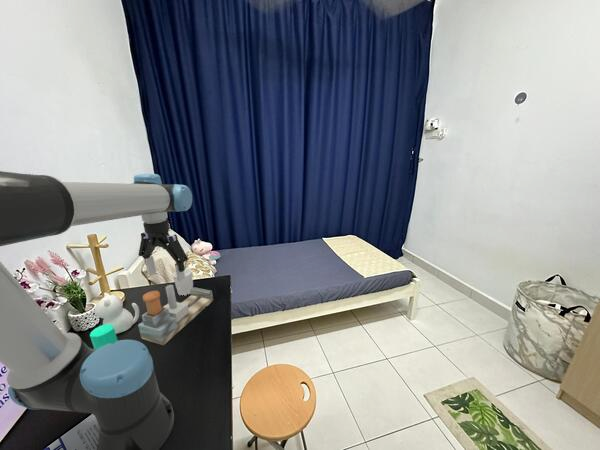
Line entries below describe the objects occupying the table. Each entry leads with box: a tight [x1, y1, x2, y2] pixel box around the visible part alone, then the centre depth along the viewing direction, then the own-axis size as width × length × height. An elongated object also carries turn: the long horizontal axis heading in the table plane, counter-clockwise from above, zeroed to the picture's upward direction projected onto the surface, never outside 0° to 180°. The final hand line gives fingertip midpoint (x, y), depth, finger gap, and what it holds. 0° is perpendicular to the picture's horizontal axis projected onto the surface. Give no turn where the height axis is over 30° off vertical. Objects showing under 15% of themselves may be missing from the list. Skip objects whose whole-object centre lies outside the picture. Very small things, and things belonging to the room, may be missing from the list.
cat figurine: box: [94, 292, 140, 335], centre depth 91 cm, size 9×12×15 cm
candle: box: [89, 324, 119, 349], centre depth 79 cm, size 6×6×12 cm
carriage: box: [163, 284, 189, 322], centre depth 93 cm, size 6×8×13 cm
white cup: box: [172, 268, 194, 297], centre depth 115 cm, size 8×8×10 cm
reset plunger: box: [142, 290, 162, 316], centre depth 85 cm, size 5×5×7 cm
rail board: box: [137, 286, 214, 346], centre depth 97 cm, size 27×10×10 cm, turn 161°
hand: (166, 276), depth 90 cm, fingers open, 13 cm apart
